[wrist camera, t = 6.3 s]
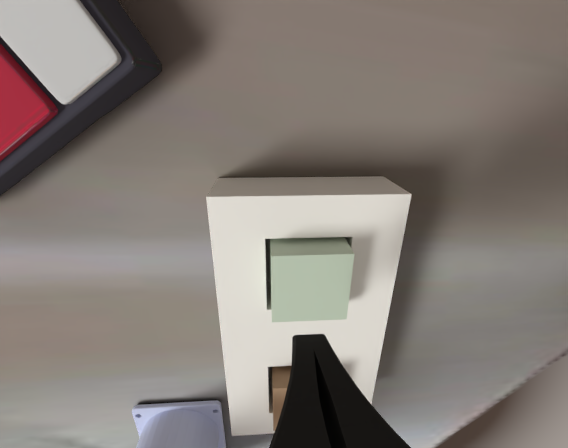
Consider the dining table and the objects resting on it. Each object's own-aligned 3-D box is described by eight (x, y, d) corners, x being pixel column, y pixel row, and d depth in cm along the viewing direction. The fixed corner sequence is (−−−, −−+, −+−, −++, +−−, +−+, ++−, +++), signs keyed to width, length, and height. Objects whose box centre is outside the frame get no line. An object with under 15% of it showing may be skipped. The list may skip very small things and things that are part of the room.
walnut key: (324, 383, 24) (333, 426, 21) (272, 386, 24) (273, 430, 20) (327, 343, 22) (338, 385, 19) (271, 346, 22) (272, 388, 19)
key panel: (352, 383, 27) (366, 427, 23) (236, 389, 26) (231, 436, 23) (383, 176, 19) (411, 194, 15) (217, 177, 18) (206, 196, 15)
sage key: (333, 284, 20) (346, 319, 17) (270, 286, 20) (272, 322, 16) (338, 227, 18) (354, 254, 15) (269, 228, 18) (271, 256, 15)
